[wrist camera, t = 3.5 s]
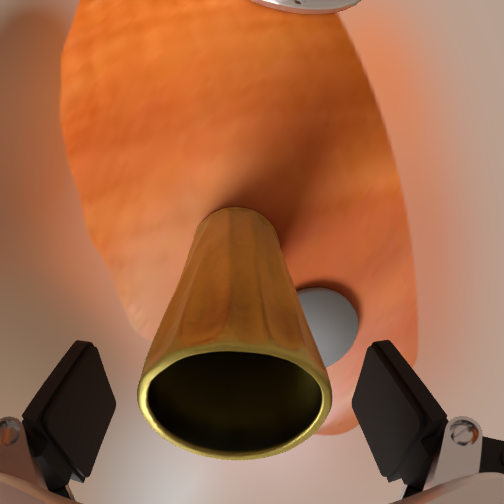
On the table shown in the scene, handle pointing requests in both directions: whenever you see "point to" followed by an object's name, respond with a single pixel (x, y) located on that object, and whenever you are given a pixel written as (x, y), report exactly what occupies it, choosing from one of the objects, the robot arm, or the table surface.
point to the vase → (235, 349)
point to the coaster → (329, 321)
